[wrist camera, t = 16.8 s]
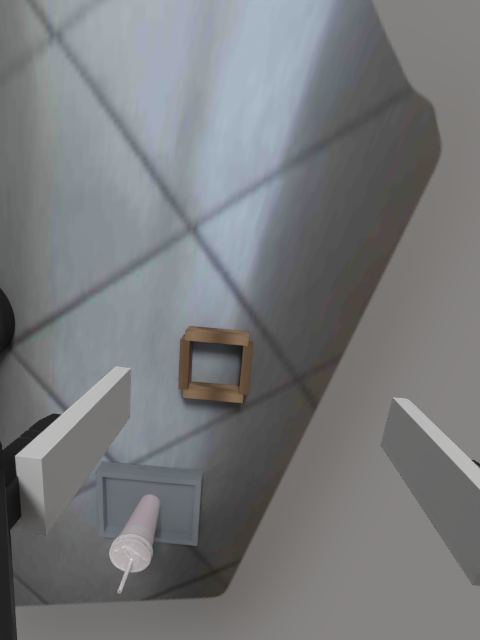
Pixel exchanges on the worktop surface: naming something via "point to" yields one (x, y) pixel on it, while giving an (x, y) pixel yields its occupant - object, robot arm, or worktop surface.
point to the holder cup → (210, 389)
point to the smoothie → (136, 538)
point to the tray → (139, 480)
